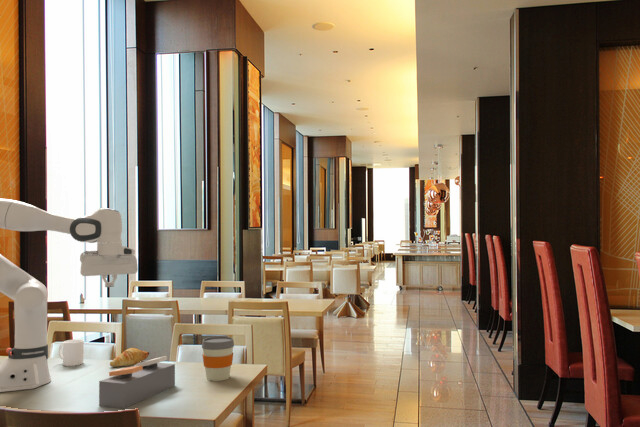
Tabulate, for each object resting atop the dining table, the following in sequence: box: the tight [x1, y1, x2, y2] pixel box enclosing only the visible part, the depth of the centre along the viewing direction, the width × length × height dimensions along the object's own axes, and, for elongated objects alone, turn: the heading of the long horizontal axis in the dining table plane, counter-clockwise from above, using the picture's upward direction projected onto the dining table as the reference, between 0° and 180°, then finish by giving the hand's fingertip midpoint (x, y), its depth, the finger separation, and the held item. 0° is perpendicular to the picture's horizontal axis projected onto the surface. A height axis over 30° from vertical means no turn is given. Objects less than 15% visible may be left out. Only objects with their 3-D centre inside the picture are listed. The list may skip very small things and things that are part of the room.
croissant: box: [109, 347, 150, 368], centre depth 236 cm, size 21×10×8 cm, turn 152°
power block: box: [98, 362, 176, 409], centre depth 188 cm, size 10×28×9 cm, turn 160°
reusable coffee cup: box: [201, 336, 235, 382], centre depth 210 cm, size 13×12×15 cm
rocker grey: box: [135, 355, 168, 366], centre depth 194 cm, size 10×5×2 cm, turn 71°
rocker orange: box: [108, 366, 143, 377], centre depth 181 cm, size 10×5×2 cm, turn 71°
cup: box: [58, 338, 85, 367], centre depth 236 cm, size 8×12×10 cm
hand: (109, 286), depth 201 cm, fingers closed
